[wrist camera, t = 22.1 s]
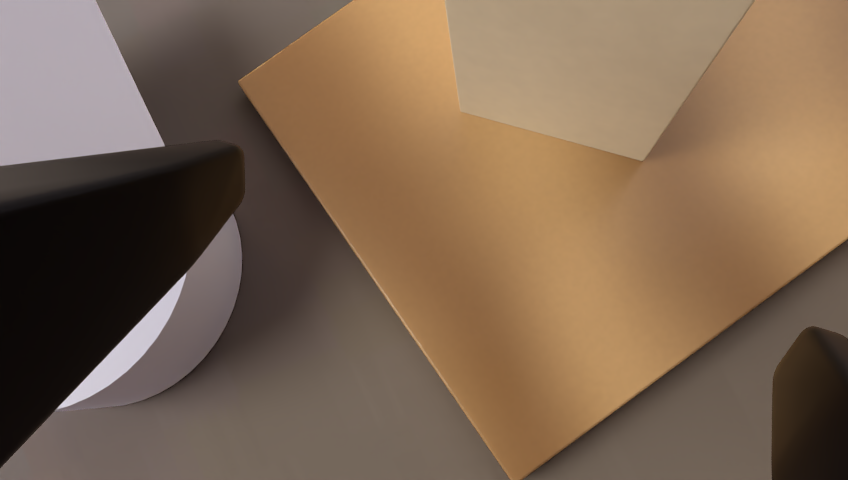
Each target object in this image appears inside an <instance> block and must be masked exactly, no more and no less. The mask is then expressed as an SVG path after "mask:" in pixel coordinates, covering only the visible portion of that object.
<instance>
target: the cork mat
mask: <svg viewBox="0 0 848 480" xmlns="http://www.w3.org/2000/svg"><path fill="white" fill-rule="evenodd" d="M238 83H239V85H240V87H241V88H242V90H243V91H244V93H245V94H246V96H247V97H248V98H249V100H250V101H251V103H252V104H253V106H254V107H255V109H256V110H257V112H258V113H259V114H260V116H261V117H262V119H263V120H264V122H265V123H266V125H267V126H268V128H269V129H270V131H271V132H272V133H273V135H274V136H275V138H276V139H277V141H278V142H279V144H280V145H281V147H282V148H283V149H284V151H285V152H286V154H287V155H288V157H289V158H290V160H291V161H292V163H293V164H294V165H295V167H296V168H297V170H298V171H299V173H300V174H301V176H302V177H303V179H304V180H305V181H306V183H307V184H308V186H309V187H310V189H311V190H312V192H313V193H314V195H315V196H316V197H317V199H318V200H319V202H320V203H321V205H322V206H323V208H324V209H325V211H326V212H327V213H328V215H329V216H330V218H331V219H332V221H333V222H334V224H335V225H336V227H337V228H338V230H339V231H340V232H341V234H342V235H343V237H344V238H345V240H346V241H347V243H348V244H349V246H350V247H351V248H352V250H353V251H354V253H355V254H356V256H357V257H358V259H359V260H360V262H361V263H362V264H363V266H364V267H365V269H366V270H367V272H368V273H369V275H370V276H371V278H372V279H373V280H374V282H375V283H376V285H377V286H378V288H379V289H380V291H381V292H382V294H383V295H384V296H385V298H386V299H387V301H388V302H389V304H390V305H391V307H392V308H393V310H394V311H395V312H396V314H397V315H398V317H399V318H400V320H401V321H402V323H403V324H404V326H405V327H406V329H407V330H408V331H409V333H410V334H411V336H412V337H413V339H414V340H415V342H416V343H417V345H418V346H419V347H420V349H421V350H422V352H423V353H424V355H425V356H426V358H427V359H428V361H429V362H430V363H431V365H432V366H433V368H434V369H435V371H436V372H437V374H438V375H439V377H440V378H441V379H442V381H443V382H444V384H445V385H446V387H447V388H448V390H449V391H450V393H451V394H452V395H453V397H454V398H455V400H456V401H457V403H458V404H459V406H460V407H461V409H462V410H463V411H464V413H465V414H466V416H467V417H468V419H469V420H470V422H471V423H472V425H473V426H474V427H475V429H476V430H477V432H478V433H479V435H480V436H481V438H482V439H483V441H484V442H485V444H486V445H487V446H488V448H489V449H490V451H491V452H492V454H493V455H494V457H495V458H496V460H497V461H498V462H499V464H500V465H501V467H502V468H503V470H504V471H505V473H506V474H507V476H508V477H509V478H510V480H523V479H524V478H525V477H527V476H528V475H529V474H531V473H532V472H533V471H535V470H536V469H538V468H539V467H540V466H542V465H543V464H544V463H546V462H547V461H548V460H550V459H551V458H552V457H554V456H555V455H556V454H558V453H559V452H561V451H562V450H563V449H565V448H566V447H567V446H569V445H570V444H571V443H573V442H574V441H575V440H577V439H578V438H579V437H581V436H582V435H584V434H585V433H586V432H588V431H589V430H590V429H592V428H593V427H594V426H596V425H597V424H598V423H600V422H601V421H602V420H604V419H605V418H607V417H608V416H609V415H611V414H612V413H613V412H615V411H616V410H617V409H619V408H620V407H621V406H623V405H624V404H625V403H627V402H628V401H630V400H631V399H632V398H634V397H635V396H636V395H638V394H639V393H640V392H642V391H643V390H644V389H646V388H647V387H648V386H650V385H651V384H653V383H654V382H655V381H657V380H658V379H659V378H661V377H662V376H663V375H665V374H666V373H667V372H669V371H670V370H671V369H673V368H674V367H676V366H677V365H678V364H680V363H681V362H682V361H684V360H685V359H686V358H688V357H689V356H690V355H692V354H693V353H694V352H696V351H697V350H699V349H700V348H701V347H703V346H704V345H705V344H707V343H708V342H709V341H711V340H712V339H713V338H715V337H716V336H717V335H719V334H720V333H722V332H723V331H724V330H726V329H727V328H728V327H730V326H731V325H732V324H734V323H735V322H736V321H738V320H739V319H740V318H742V317H743V316H745V315H746V314H747V313H749V312H750V311H751V310H753V309H754V308H755V307H757V306H758V305H759V304H761V303H762V302H763V301H765V300H766V299H768V298H769V297H770V296H772V295H773V294H774V293H776V292H777V291H778V290H780V289H781V288H782V287H784V286H785V285H786V284H788V283H789V282H791V281H792V280H793V279H795V278H796V277H797V276H799V275H800V274H801V273H803V272H804V271H805V270H807V269H808V268H809V267H811V266H812V265H814V264H815V263H816V262H818V261H819V260H820V259H822V258H823V257H824V256H826V255H827V254H828V253H830V252H831V251H833V250H834V249H835V248H837V247H838V246H839V245H841V244H842V243H843V242H845V241H846V240H847V239H848V0H755V1H754V3H753V4H752V6H751V7H750V9H749V10H748V11H747V13H746V14H745V16H744V17H743V19H742V20H741V22H740V23H739V24H738V26H737V27H736V29H735V30H734V32H733V33H732V35H731V36H730V37H729V39H728V40H727V42H726V43H725V45H724V46H723V48H722V49H721V50H720V52H719V53H718V55H717V56H716V58H715V59H714V61H713V62H712V63H711V65H710V66H709V68H708V69H707V71H706V72H705V74H704V75H703V76H702V78H701V79H700V81H699V82H698V84H697V85H696V87H695V88H694V89H693V91H692V92H691V94H690V95H689V97H688V98H687V100H686V101H685V102H684V104H683V105H682V107H681V108H680V110H679V111H678V113H677V114H676V115H675V117H674V118H673V120H672V121H671V123H670V124H669V126H668V127H667V128H666V130H665V131H664V133H663V134H662V136H661V137H660V139H659V140H658V141H657V143H656V144H655V146H654V147H653V149H652V150H651V152H650V153H649V154H648V156H647V157H646V159H645V160H644V161H640V160H636V159H632V158H629V157H625V156H621V155H618V154H614V153H610V152H607V151H603V150H599V149H596V148H592V147H588V146H585V145H581V144H577V143H574V142H570V141H566V140H563V139H559V138H555V137H552V136H548V135H544V134H541V133H537V132H533V131H530V130H526V129H522V128H519V127H515V126H511V125H508V124H504V123H500V122H497V121H493V120H489V119H486V118H482V117H478V116H475V115H471V114H467V113H464V112H461V111H460V106H459V99H458V92H457V84H456V77H455V70H454V63H453V56H452V49H451V42H450V35H449V28H448V21H447V14H446V7H445V0H353V1H352V2H350V3H349V4H347V5H346V6H344V7H343V8H342V9H340V10H339V11H337V12H336V13H334V14H333V15H332V16H330V17H329V18H327V19H326V20H324V21H323V22H322V23H320V24H319V25H317V26H316V27H314V28H313V29H312V30H310V31H309V32H307V33H306V34H304V35H303V36H302V37H300V38H299V39H297V40H296V41H294V42H293V43H292V44H290V45H289V46H287V47H286V48H284V49H283V50H282V51H280V52H279V53H277V54H276V55H274V56H273V57H271V58H270V59H269V60H267V61H266V62H264V63H263V64H261V65H260V66H259V67H257V68H256V69H254V70H253V71H251V72H250V73H249V74H247V75H246V76H244V77H243V78H241V79H240V80H239V81H238Z"/></svg>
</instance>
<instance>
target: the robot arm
mask: <svg viewBox="0 0 848 480" xmlns="http://www.w3.org/2000/svg"><path fill="white" fill-rule="evenodd" d="M244 193H245V169H244V153H243V150H242V149H241V148H240V147H239V146H237V145H234V144H231V143H228V142H225V141H222V140H213V141H204V142H196V143H188V144H179V145H171V146H163V147H154V148H146V149H138V150H129V151H121V152H113V153H104V154H96V155H88V156H79V157H71V158H63V159H54V160H46V161H37V162H29V163H21V164H12V165H4V166H0V468H1V467H2V466H3V465H4V464H5V463H6V462H7V460H8V459H9V458H10V457H11V456H12V455H13V454H14V453H15V452H16V451H17V450H18V449H19V448H20V447H21V446H22V445H23V444H24V443H25V442H26V441H27V439H28V438H29V437H30V436H31V435H32V434H33V433H34V432H35V431H36V430H37V429H38V428H39V427H40V426H41V425H42V424H43V423H44V422H45V421H46V420H47V418H48V417H49V416H50V415H51V414H52V413H53V412H54V411H55V410H56V409H57V408H58V407H59V406H60V405H61V404H62V403H63V402H64V401H65V400H66V399H67V397H68V396H69V395H70V394H71V393H72V392H73V391H74V390H75V389H76V388H77V387H78V386H79V385H80V384H81V383H82V382H83V381H84V380H85V379H86V378H87V377H88V375H89V374H90V373H91V372H92V371H93V370H94V369H95V368H96V367H97V366H98V365H99V364H100V363H101V362H102V361H103V360H104V359H105V358H106V357H107V356H108V354H109V353H110V352H111V351H112V350H113V349H114V348H115V347H116V346H117V345H118V344H119V343H120V342H121V341H122V340H123V339H124V338H125V337H126V336H127V335H128V333H129V332H130V331H131V330H132V329H133V328H134V327H135V326H136V325H137V324H138V323H139V322H140V321H141V320H142V319H143V318H144V317H145V316H146V315H147V314H148V312H149V311H150V310H151V309H152V308H153V307H154V306H155V305H156V304H157V303H158V302H159V301H160V300H161V299H162V298H163V297H164V296H165V295H166V294H167V293H168V292H169V290H170V289H171V288H172V287H173V286H174V285H175V284H176V283H177V282H178V281H179V280H180V279H181V278H182V277H183V276H184V275H185V274H186V272H187V271H188V270H189V269H190V268H191V267H192V266H193V265H194V263H195V262H196V261H197V260H198V259H199V257H200V256H201V255H202V254H203V252H204V251H205V250H206V248H207V247H208V246H209V244H210V243H211V242H212V240H213V239H214V238H215V236H216V235H217V234H218V233H219V231H220V230H221V229H222V227H223V226H224V225H225V223H226V222H227V221H228V219H229V218H230V217H231V215H232V214H233V213H234V211H235V210H236V209H237V207H238V206H239V205H240V203H241V202H242V199H243V197H244ZM772 480H848V339H847V338H846V337H844V336H843V335H840V334H838V333H835V332H832V331H828V330H825V329H822V328H819V327H814V326H812V327H808V328H806V329H805V330H803V331H802V332H801V334H800V335H799V336H798V338H797V339H796V341H795V342H794V343H793V345H792V346H791V348H790V349H789V350H788V352H787V353H786V355H785V356H784V357H783V359H782V360H781V362H780V363H779V364H778V366H777V368H776V370H775V373H774V377H773V394H772Z"/></svg>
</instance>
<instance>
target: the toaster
mask: <svg viewBox="0 0 848 480" xmlns="http://www.w3.org/2000/svg"><path fill="white" fill-rule="evenodd" d="M754 1H755V0H445V7H446V14H447V21H448V28H449V35H450V42H451V49H452V56H453V63H454V70H455V77H456V84H457V92H458V99H459V106H460V111H461V112H464V113H467V114H471V115H475V116H478V117H482V118H486V119H489V120H493V121H497V122H500V123H504V124H508V125H511V126H515V127H519V128H522V129H526V130H530V131H533V132H537V133H541V134H544V135H548V136H552V137H555V138H559V139H563V140H566V141H570V142H574V143H577V144H581V145H585V146H588V147H592V148H596V149H599V150H603V151H607V152H610V153H614V154H618V155H621V156H625V157H629V158H632V159H636V160H640V161H644V160H645V159H646V157H647V156H648V154H649V153H650V152H651V150H652V149H653V147H654V146H655V144H656V143H657V141H658V140H659V139H660V137H661V136H662V134H663V133H664V131H665V130H666V128H667V127H668V126H669V124H670V123H671V121H672V120H673V118H674V117H675V115H676V114H677V113H678V111H679V110H680V108H681V107H682V105H683V104H684V102H685V101H686V100H687V98H688V97H689V95H690V94H691V92H692V91H693V89H694V88H695V87H696V85H697V84H698V82H699V81H700V79H701V78H702V76H703V75H704V74H705V72H706V71H707V69H708V68H709V66H710V65H711V63H712V62H713V61H714V59H715V58H716V56H717V55H718V53H719V52H720V50H721V49H722V48H723V46H724V45H725V43H726V42H727V40H728V39H729V37H730V36H731V35H732V33H733V32H734V30H735V29H736V27H737V26H738V24H739V23H740V22H741V20H742V19H743V17H744V16H745V14H746V13H747V11H748V10H749V9H750V7H751V6H752V4H753V3H754Z"/></svg>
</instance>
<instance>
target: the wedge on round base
mask: <svg viewBox="0 0 848 480" xmlns="http://www.w3.org/2000/svg"><path fill="white" fill-rule="evenodd" d="M163 146H165V145H164V143H163V141H162V139H161V137H160V135H159V132H158V130H157V128H156V126H155V124H154V122H153V120H152V118H151V116H150V114H149V111H148V109H147V107H146V105H145V103H144V101H143V99H142V97H141V95H140V93H139V91H138V88H137V86H136V84H135V82H134V80H133V78H132V76H131V74H130V72H129V70H128V67H127V65H126V63H125V61H124V59H123V57H122V55H121V53H120V51H119V49H118V46H117V44H116V42H115V40H114V38H113V36H112V34H111V32H110V30H109V28H108V26H107V23H106V21H105V19H104V17H103V15H102V13H101V11H100V9H99V7H98V5H97V2H96V0H0V166H4V165H12V164H21V163H29V162H37V161H46V160H54V159H63V158H71V157H79V156H88V155H96V154H104V153H113V152H121V151H129V150H138V149H146V148H154V147H163ZM241 274H242V249H241V240H240V235H239V231H238V227H237V223H236V220H235V217H234V215H233V214H232V215H231V217H230V218H229V219H228V221H227V222H226V223H225V225H224V226H223V227H222V229H221V230H220V231H219V233H218V234H217V235H216V236H215V238H214V239H213V240H212V242H211V243H210V244H209V246H208V247H207V248H206V250H205V251H204V252H203V254H202V255H201V256H200V257H199V259H198V260H197V261H196V262H195V263H194V265H193V266H192V267H191V268H190V269H189V270H188V271H187V272H186V274H185V275H184V276H183V277H182V278H181V279H180V280H179V281H178V282H177V283H176V284H175V285H174V286H173V287H172V288H171V289H170V290H169V292H168V293H167V294H166V295H165V296H164V297H163V298H162V299H161V300H160V301H159V302H158V303H157V304H156V305H155V306H154V307H153V308H152V309H151V310H150V311H149V312H148V314H147V315H146V316H145V317H144V318H143V319H142V320H141V321H140V322H139V323H138V324H137V325H136V326H135V327H134V328H133V329H132V330H131V331H130V332H129V333H128V335H127V336H126V337H125V338H124V339H123V340H122V341H121V342H120V343H119V344H118V345H117V346H116V347H115V348H114V349H113V350H112V351H111V352H110V353H109V354H108V356H107V357H106V358H105V359H104V360H103V361H102V362H101V363H100V364H99V365H98V366H97V367H96V368H95V369H94V370H93V371H92V372H91V373H90V374H89V375H88V377H87V378H86V379H85V380H84V381H83V382H82V383H81V384H80V385H79V386H78V387H77V388H76V389H75V390H74V391H73V392H72V393H71V394H70V395H69V396H68V397H67V399H66V400H65V401H64V402H63V403H62V404H61V405H60V406H59V407H58V408H57V409H56V410H55V411H54V412H58V411H70V410H81V409H93V408H104V407H114V406H122V405H127V404H131V403H135V402H139V401H142V400H145V399H147V398H149V397H152V396H154V395H156V394H159V393H161V392H162V391H164V390H166V389H167V388H169V387H171V386H172V385H174V384H176V383H177V382H178V381H179V380H181V379H182V378H183V377H185V376H186V375H187V374H188V373H190V372H191V371H192V370H193V369H194V368H195V367H196V366H197V365H198V364H199V363H200V362H201V361H202V360H203V359H204V358H205V356H206V355H207V354H208V352H209V351H210V350H211V349H212V347H213V346H214V345H215V343H216V342H217V340H218V338H219V337H220V335H221V333H222V332H223V330H224V328H225V327H226V324H227V322H228V320H229V318H230V315H231V313H232V311H233V308H234V305H235V302H236V298H237V295H238V292H239V286H240V280H241Z"/></svg>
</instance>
